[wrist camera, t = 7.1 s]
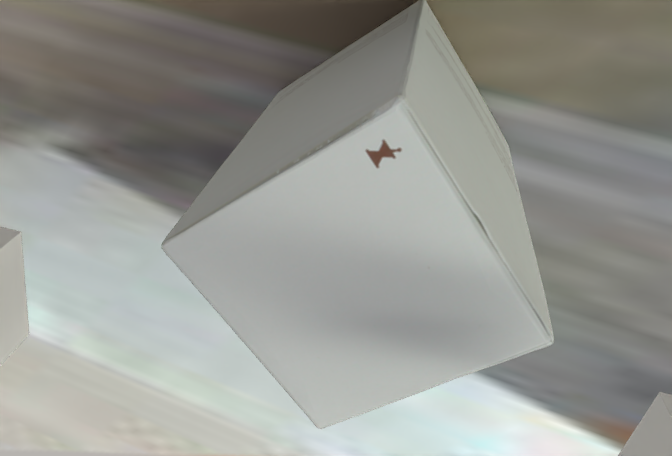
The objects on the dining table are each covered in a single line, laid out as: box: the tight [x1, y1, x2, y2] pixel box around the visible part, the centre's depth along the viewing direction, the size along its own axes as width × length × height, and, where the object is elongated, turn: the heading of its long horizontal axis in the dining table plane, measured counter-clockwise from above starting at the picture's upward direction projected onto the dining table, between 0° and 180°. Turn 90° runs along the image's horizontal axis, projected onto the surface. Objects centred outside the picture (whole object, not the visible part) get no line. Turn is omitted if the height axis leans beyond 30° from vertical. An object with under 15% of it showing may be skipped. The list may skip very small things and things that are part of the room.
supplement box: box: [161, 0, 554, 429], centre depth 20 cm, size 7×7×13 cm
